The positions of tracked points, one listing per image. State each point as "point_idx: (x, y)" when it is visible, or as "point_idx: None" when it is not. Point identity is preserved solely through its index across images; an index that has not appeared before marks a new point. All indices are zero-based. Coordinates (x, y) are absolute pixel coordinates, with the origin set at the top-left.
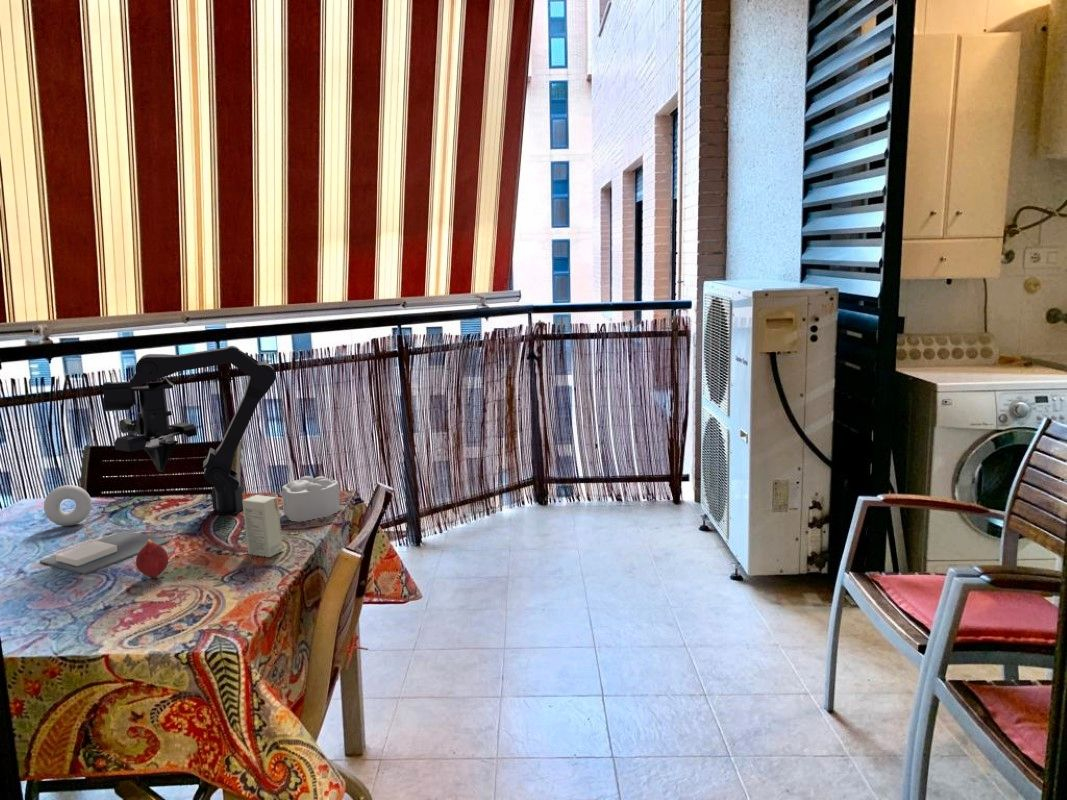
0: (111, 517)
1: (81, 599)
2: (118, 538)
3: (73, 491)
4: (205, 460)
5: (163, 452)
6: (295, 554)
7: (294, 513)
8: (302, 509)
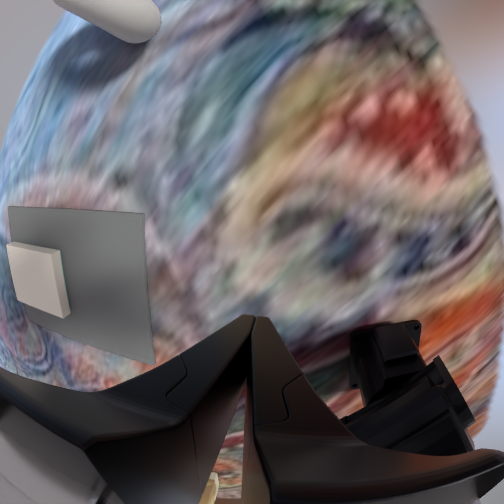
0: (223, 51)
1: (22, 360)
2: (103, 249)
3: (73, 8)
4: (434, 439)
5: (199, 496)
6: (218, 492)
7: None
8: None
